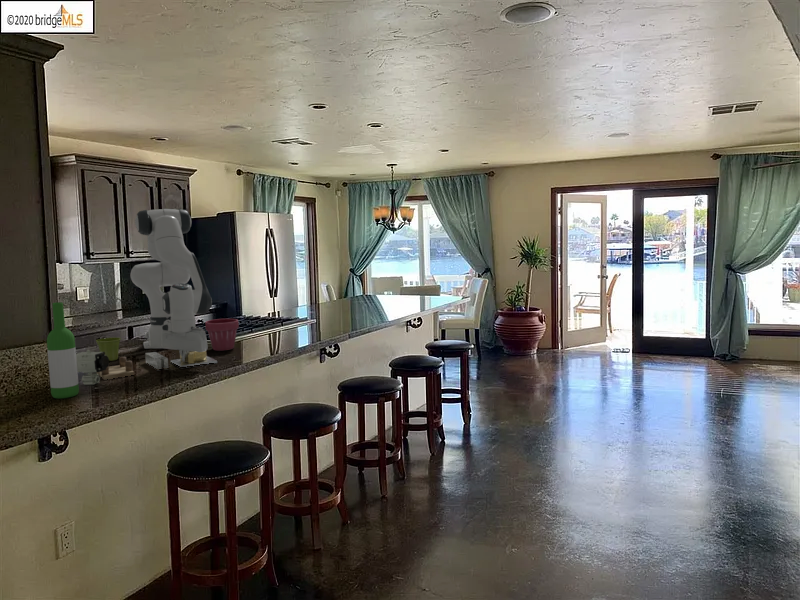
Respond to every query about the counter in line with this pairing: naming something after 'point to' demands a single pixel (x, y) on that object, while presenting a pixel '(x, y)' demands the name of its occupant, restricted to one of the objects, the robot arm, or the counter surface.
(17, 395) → the counter surface
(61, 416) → the counter surface
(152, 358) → the white bar
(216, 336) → the plant pot
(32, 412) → the counter surface
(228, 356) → the counter surface
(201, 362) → the nut base
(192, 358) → the ring nut
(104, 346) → the plant pot
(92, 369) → the pneumatic valve
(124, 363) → the rack
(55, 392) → the wine bottle
